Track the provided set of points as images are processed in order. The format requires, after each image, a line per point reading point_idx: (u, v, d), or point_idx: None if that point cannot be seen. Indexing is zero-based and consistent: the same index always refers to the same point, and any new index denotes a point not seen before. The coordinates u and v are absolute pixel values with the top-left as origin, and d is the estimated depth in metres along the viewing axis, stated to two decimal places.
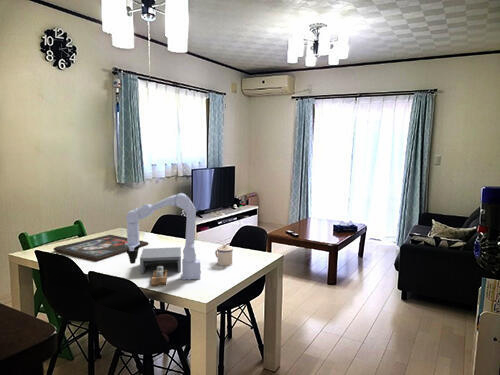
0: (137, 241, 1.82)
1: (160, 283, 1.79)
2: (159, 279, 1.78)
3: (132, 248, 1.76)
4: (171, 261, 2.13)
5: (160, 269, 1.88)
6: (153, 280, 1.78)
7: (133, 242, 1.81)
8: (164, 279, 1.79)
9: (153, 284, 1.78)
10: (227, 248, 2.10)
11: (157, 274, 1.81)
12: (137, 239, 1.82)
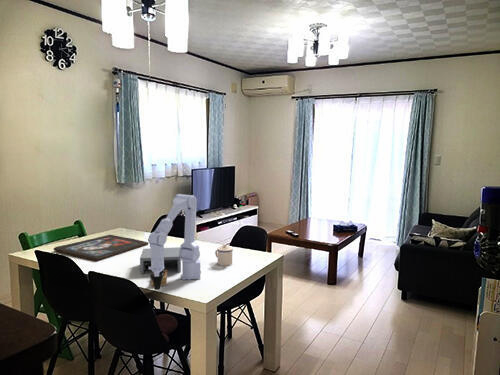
0: (162, 265, 1.68)
1: None
2: None
3: (157, 273, 1.62)
4: (171, 261, 2.13)
5: None
6: None
7: (158, 266, 1.67)
8: (164, 279, 1.79)
9: (153, 284, 1.78)
10: (227, 248, 2.10)
11: None
12: (162, 263, 1.68)
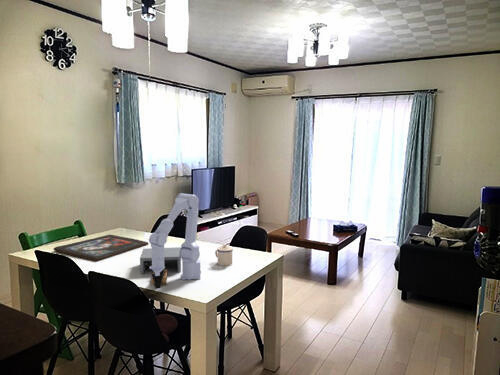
0: (162, 265, 1.72)
1: None
2: None
3: (158, 273, 1.66)
4: (171, 261, 2.13)
5: None
6: (153, 280, 1.78)
7: (158, 266, 1.71)
8: (164, 279, 1.79)
9: (153, 283, 1.78)
10: (227, 248, 2.10)
11: None
12: (162, 262, 1.72)
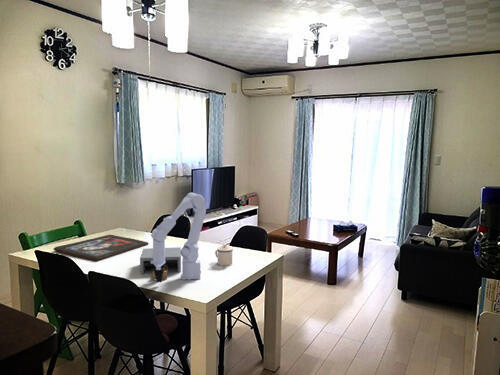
0: (163, 259, 1.80)
1: None
2: None
3: (159, 267, 1.74)
4: (171, 261, 2.13)
5: None
6: (154, 274, 1.86)
7: (159, 260, 1.78)
8: (165, 273, 1.87)
9: (154, 278, 1.86)
10: (227, 248, 2.10)
11: None
12: (163, 257, 1.80)
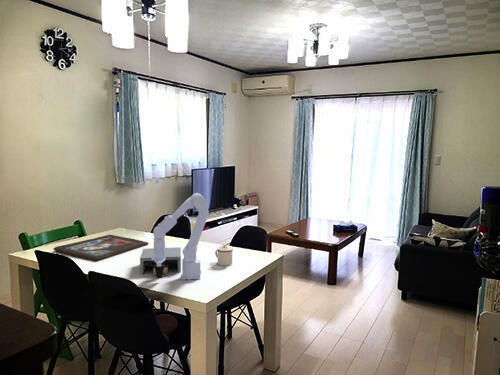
0: (163, 256, 1.85)
1: None
2: None
3: (159, 264, 1.79)
4: (171, 261, 2.13)
5: None
6: (155, 271, 1.91)
7: (160, 257, 1.83)
8: (165, 270, 1.92)
9: (155, 274, 1.91)
10: (227, 248, 2.10)
11: None
12: (163, 254, 1.85)
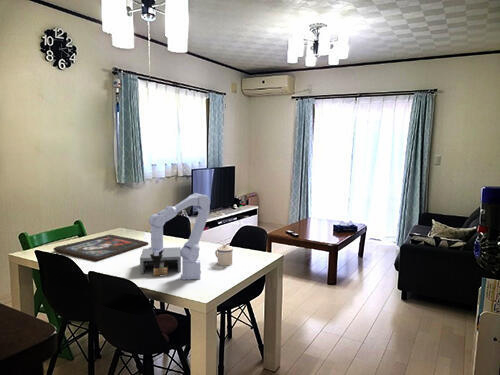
0: (161, 245, 1.77)
1: (161, 274, 1.92)
2: (160, 270, 1.91)
3: (157, 253, 1.71)
4: (171, 261, 2.13)
5: (161, 261, 2.01)
6: (155, 271, 1.91)
7: (157, 247, 1.75)
8: (165, 270, 1.92)
9: (155, 274, 1.91)
10: (227, 248, 2.10)
11: None
12: (161, 243, 1.77)
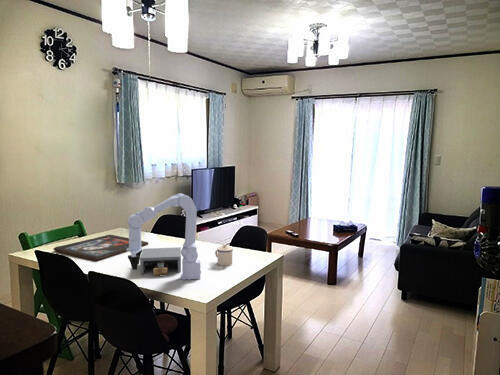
0: (139, 246, 1.75)
1: (161, 274, 1.92)
2: (160, 270, 1.91)
3: (134, 254, 1.69)
4: (171, 261, 2.13)
5: (161, 261, 2.01)
6: (155, 271, 1.91)
7: (135, 247, 1.74)
8: (165, 270, 1.92)
9: (155, 274, 1.91)
10: (227, 248, 2.10)
11: (159, 265, 1.94)
12: (139, 244, 1.75)
